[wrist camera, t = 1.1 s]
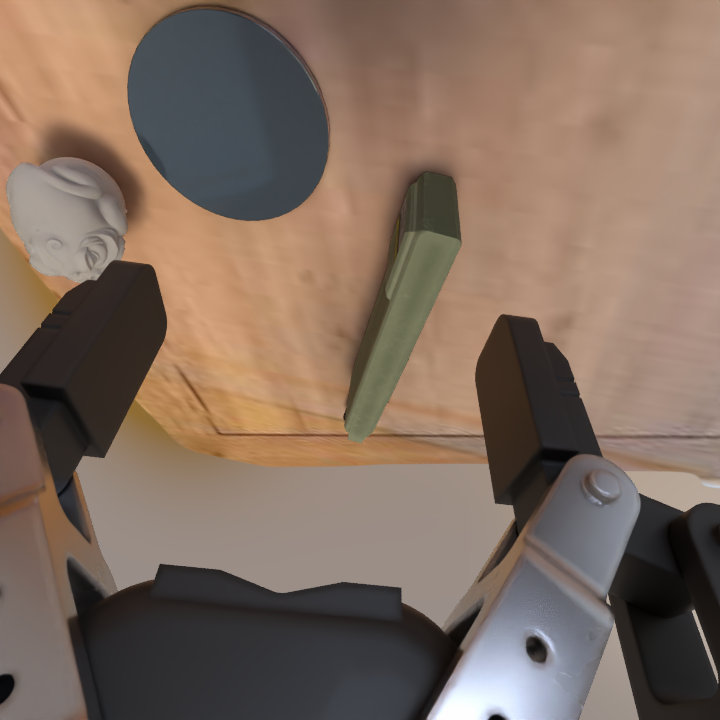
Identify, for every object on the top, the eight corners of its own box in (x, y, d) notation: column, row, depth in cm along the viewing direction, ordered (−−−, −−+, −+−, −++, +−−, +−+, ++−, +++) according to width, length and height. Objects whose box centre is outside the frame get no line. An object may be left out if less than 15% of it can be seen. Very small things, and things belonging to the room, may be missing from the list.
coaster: (106, -16, 21) (100, -14, 20) (340, 29, 21) (338, 33, 21) (154, 201, 29) (150, 206, 28) (321, 228, 30) (320, 233, 29)
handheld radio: (465, 181, 26) (367, 411, 45) (413, 166, 26) (335, 404, 45) (473, 243, 22) (360, 471, 40) (410, 226, 22) (325, 463, 40)
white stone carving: (92, 239, 31) (39, 305, 27) (18, 138, 26) (-63, 198, 22) (169, 228, 30) (128, 295, 26) (108, 121, 25) (42, 179, 21)
